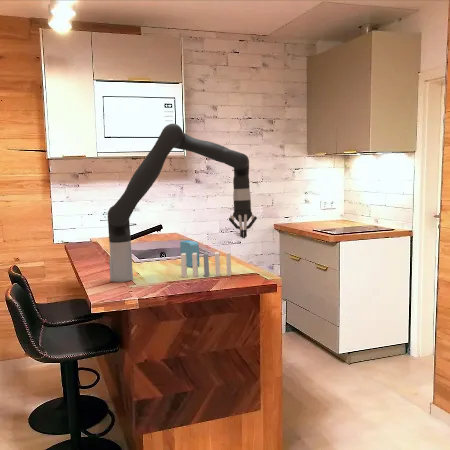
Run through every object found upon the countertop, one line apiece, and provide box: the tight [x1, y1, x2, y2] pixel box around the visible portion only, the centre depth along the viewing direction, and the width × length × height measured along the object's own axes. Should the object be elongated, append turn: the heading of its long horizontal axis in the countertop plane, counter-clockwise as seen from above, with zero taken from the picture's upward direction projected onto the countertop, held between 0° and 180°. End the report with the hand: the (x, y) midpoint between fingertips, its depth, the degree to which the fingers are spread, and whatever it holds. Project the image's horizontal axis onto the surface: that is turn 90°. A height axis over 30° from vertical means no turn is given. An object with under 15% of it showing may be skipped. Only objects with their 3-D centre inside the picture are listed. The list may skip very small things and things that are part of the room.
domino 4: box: [214, 251, 221, 277], centre depth 224 cm, size 2×5×10 cm, turn 178°
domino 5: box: [225, 251, 232, 277], centre depth 224 cm, size 2×5×10 cm, turn 178°
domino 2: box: [192, 253, 199, 278], centre depth 225 cm, size 2×5×10 cm, turn 178°
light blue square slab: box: [179, 240, 201, 268], centre depth 251 cm, size 12×4×12 cm, turn 30°
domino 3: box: [203, 251, 210, 278], centre depth 225 cm, size 2×5×10 cm, turn 178°
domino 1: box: [180, 253, 188, 278], centre depth 225 cm, size 2×5×10 cm, turn 178°
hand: (243, 238), depth 223 cm, fingers closed
